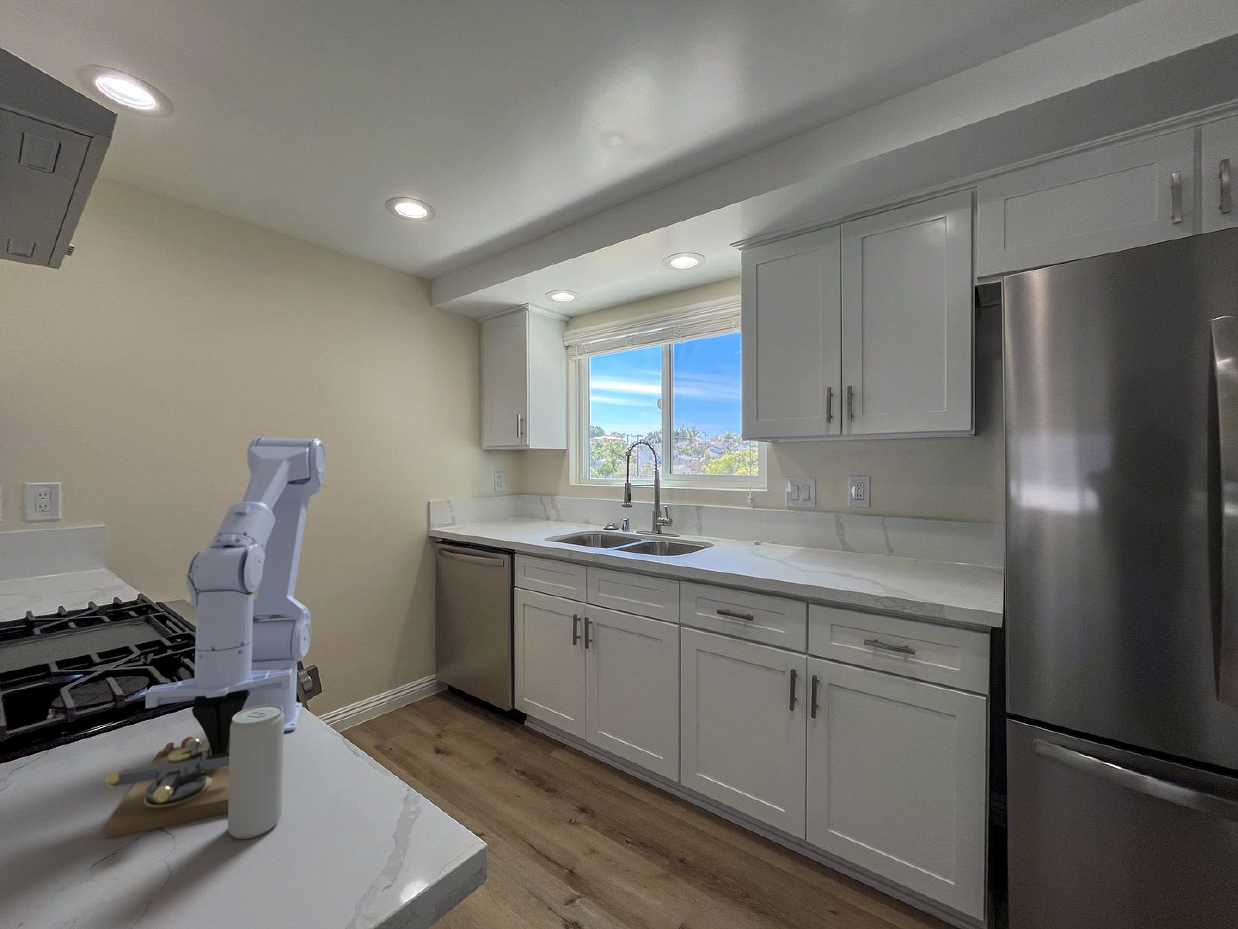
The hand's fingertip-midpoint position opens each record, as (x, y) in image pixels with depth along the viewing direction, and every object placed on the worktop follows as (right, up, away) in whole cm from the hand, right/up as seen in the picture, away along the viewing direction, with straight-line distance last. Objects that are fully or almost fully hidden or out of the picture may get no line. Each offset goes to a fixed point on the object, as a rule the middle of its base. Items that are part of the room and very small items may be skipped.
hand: (221, 754), depth 67 cm
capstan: (-1, -1, -5) cm, 6 cm away
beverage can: (+10, -3, -9) cm, 14 cm away
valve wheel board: (-2, -3, -1) cm, 4 cm away
